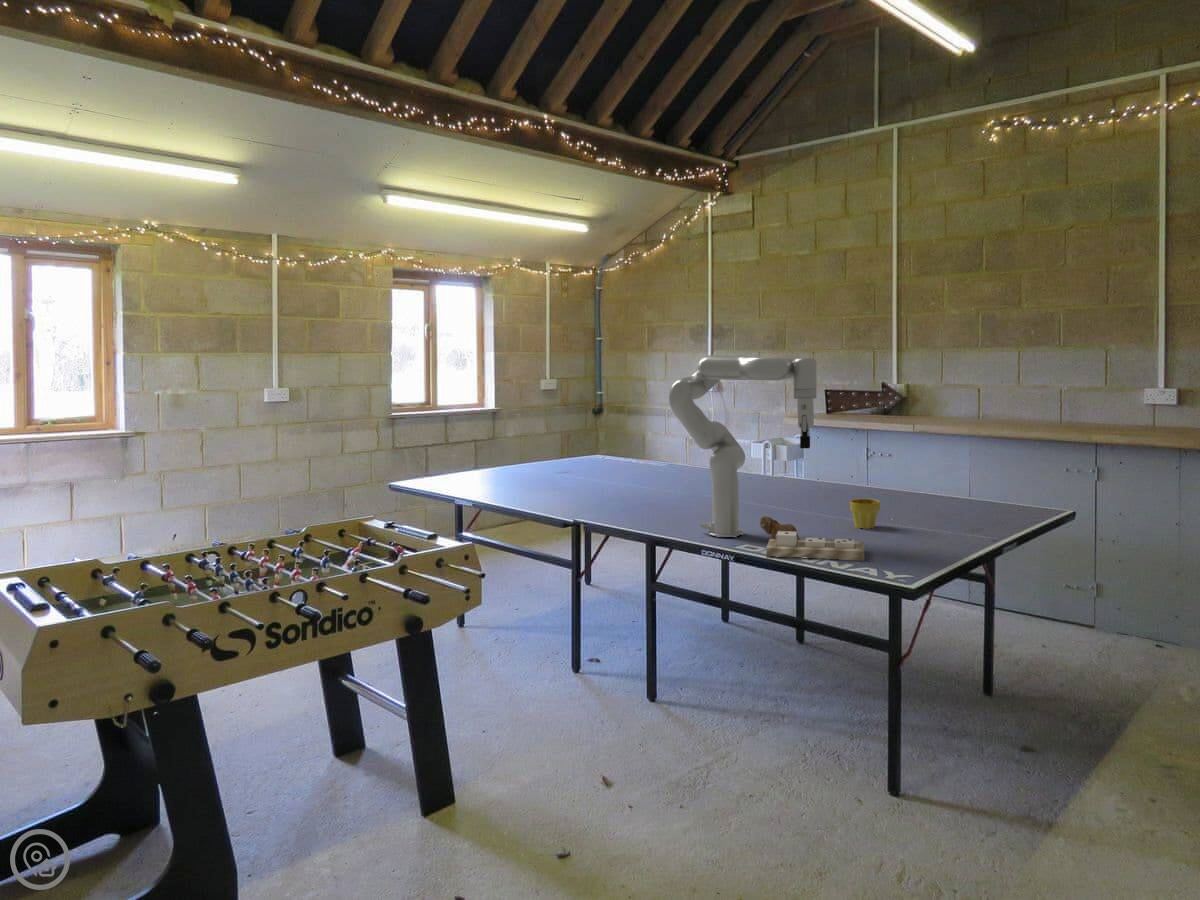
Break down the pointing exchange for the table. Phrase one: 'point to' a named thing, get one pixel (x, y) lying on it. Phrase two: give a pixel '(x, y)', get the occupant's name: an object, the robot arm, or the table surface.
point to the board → (816, 551)
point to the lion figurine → (775, 526)
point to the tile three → (844, 543)
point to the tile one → (786, 538)
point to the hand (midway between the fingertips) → (805, 447)
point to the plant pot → (864, 512)
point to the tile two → (815, 542)
